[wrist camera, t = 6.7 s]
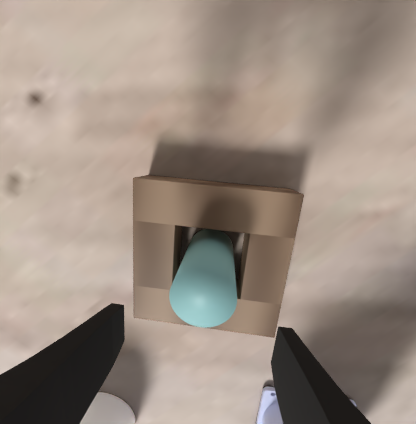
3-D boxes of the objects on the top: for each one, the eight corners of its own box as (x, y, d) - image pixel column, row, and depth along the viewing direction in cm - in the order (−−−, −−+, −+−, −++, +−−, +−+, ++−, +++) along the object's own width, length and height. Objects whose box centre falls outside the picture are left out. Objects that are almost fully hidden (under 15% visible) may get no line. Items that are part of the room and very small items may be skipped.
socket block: (290, 188, 17) (303, 194, 14) (267, 311, 20) (274, 337, 17) (148, 175, 18) (133, 177, 15) (146, 295, 20) (133, 317, 18)
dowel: (237, 233, 18) (244, 276, 11) (228, 272, 19) (229, 333, 12) (193, 224, 18) (174, 261, 12) (186, 263, 19) (165, 319, 13)
